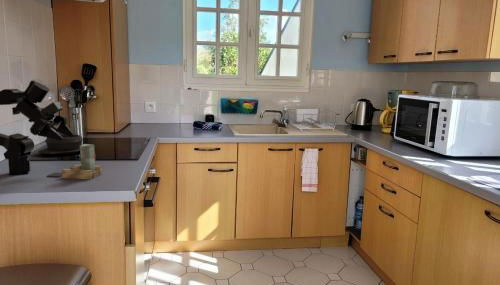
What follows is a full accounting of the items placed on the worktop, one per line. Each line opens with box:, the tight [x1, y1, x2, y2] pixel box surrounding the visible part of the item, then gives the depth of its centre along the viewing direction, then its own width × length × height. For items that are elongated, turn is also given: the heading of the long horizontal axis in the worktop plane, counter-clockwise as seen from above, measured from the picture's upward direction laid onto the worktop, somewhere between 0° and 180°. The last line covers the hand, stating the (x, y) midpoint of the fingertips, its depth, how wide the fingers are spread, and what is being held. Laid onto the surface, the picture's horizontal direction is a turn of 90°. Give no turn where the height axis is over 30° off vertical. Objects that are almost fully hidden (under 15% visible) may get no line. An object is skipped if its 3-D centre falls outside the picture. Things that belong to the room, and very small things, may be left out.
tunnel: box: [61, 163, 102, 180], centre depth 145 cm, size 11×8×4 cm
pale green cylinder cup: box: [79, 143, 101, 179], centre depth 144 cm, size 7×5×12 cm
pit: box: [46, 172, 62, 178], centre depth 145 cm, size 5×5×1 cm
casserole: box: [37, 133, 84, 156], centre depth 189 cm, size 25×19×8 cm
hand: (68, 137), depth 146 cm, fingers open, 9 cm apart
